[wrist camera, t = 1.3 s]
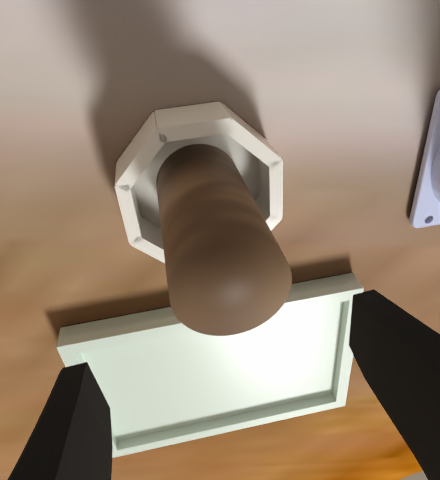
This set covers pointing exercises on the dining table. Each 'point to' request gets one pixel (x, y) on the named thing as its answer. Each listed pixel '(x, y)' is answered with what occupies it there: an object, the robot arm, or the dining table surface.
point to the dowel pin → (217, 245)
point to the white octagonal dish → (182, 134)
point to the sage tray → (218, 367)
